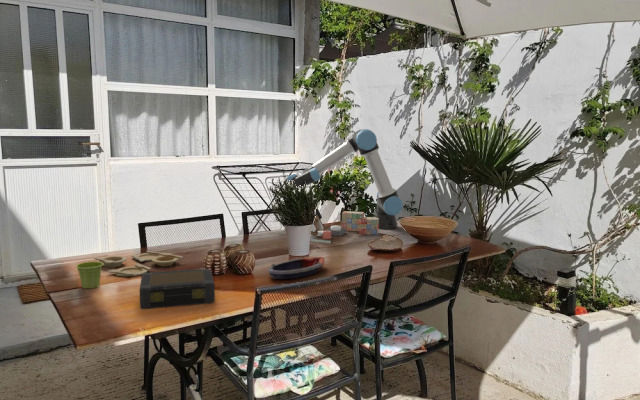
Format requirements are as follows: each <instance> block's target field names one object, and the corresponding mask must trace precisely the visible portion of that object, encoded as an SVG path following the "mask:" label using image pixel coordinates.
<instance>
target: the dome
mask: <svg viewBox="0 0 640 400" xmlns="http://www.w3.org/2000/svg"><path fill="white" fill-rule="evenodd" d="M330 228H331V230H333V231H341V228H342V225H337V224H336V225H331V226H330Z"/></svg>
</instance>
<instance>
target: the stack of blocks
mask: <svg viewBox="0 0 640 400" xmlns="http://www.w3.org/2000/svg"><path fill="white" fill-rule="evenodd" d="M341 228H344V229H346V232H348V231H349V232H351V231H352V232H357V234H358V235H371V234H373V235H374V236H376V235H378V234H379V218H376V217H370V216H369V217H368V216H366V217H365V212H364V211H345V210H344V211H343V212H341ZM373 235H372V236H373Z"/></svg>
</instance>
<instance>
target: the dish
mask: <svg viewBox="0 0 640 400" xmlns="http://www.w3.org/2000/svg"><path fill="white" fill-rule="evenodd" d="M324 265H325V257H322V256H311V257H300V258H294V259H289V260H285V261H281V262H278V263H272V264H271V265H270V266H269V267H268V269H267V272H268V274H269V276H270V277H271V278H273V279H277V280H294V279H299V278H304V277H309V276H312V275H314V274H316V273H318V272H321V270H322V269H323V266H324Z"/></svg>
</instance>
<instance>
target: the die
mask: <svg viewBox="0 0 640 400" xmlns="http://www.w3.org/2000/svg"><path fill="white" fill-rule="evenodd" d="M323 231H324V232H323V234H322V240H331V239H332V231H326V230H323Z"/></svg>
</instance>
